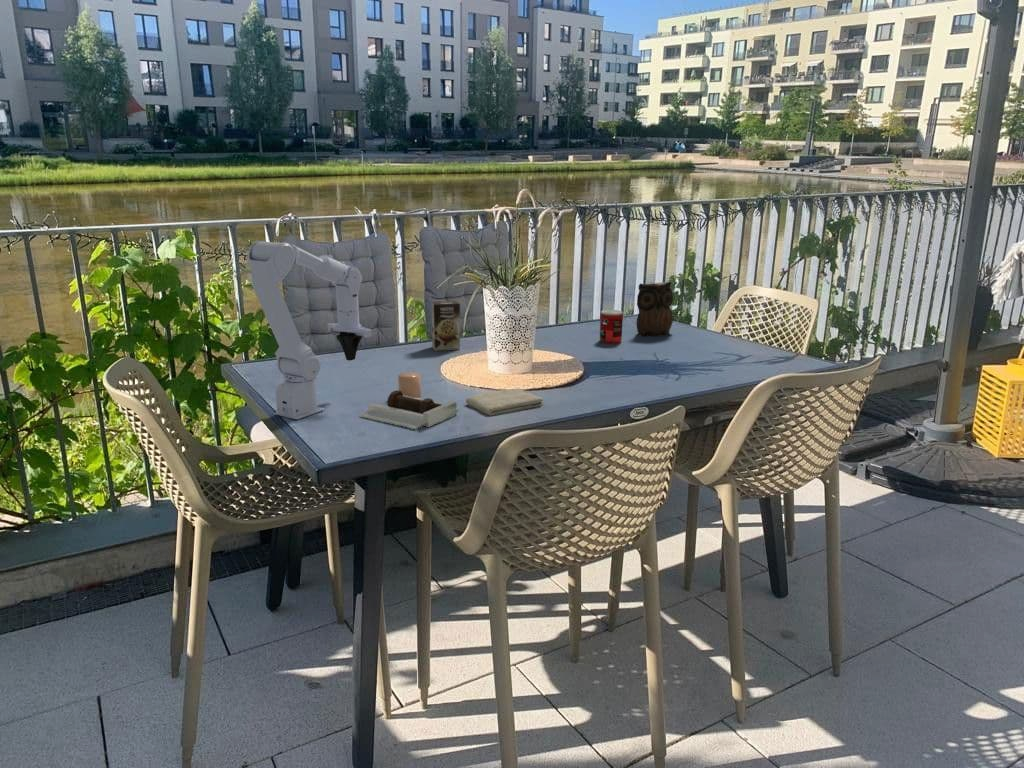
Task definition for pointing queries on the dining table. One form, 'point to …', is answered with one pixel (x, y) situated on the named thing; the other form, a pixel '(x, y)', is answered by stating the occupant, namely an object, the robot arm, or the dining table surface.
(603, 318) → the canned food
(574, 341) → the dining table surface
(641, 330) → the owl
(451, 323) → the cookie box
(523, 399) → the washcloth
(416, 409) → the bolt
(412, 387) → the tan rounded block
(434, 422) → the bracket
